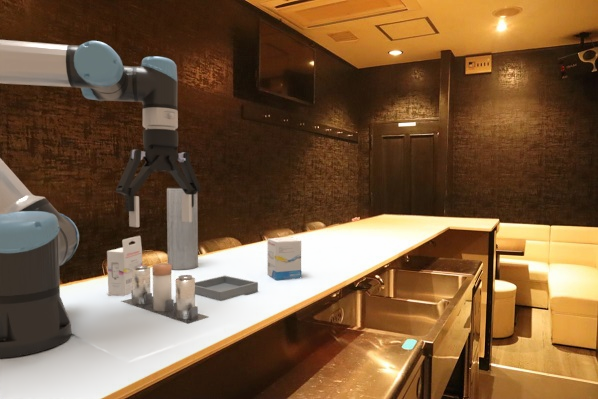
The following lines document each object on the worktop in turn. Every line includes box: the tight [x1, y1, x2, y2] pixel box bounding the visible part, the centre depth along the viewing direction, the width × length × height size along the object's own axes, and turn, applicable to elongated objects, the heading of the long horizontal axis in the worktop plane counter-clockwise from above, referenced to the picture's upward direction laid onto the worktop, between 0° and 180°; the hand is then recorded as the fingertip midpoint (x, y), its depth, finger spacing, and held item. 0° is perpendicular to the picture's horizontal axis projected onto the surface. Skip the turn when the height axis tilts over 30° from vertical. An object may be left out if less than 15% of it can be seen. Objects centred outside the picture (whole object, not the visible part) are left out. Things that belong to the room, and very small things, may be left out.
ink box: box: [267, 236, 302, 281], centre depth 133 cm, size 9×8×12 cm
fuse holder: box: [120, 264, 209, 325], centre depth 98 cm, size 6×26×9 cm, turn 52°
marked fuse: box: [151, 262, 173, 311], centre depth 97 cm, size 4×4×10 cm
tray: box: [195, 275, 259, 302], centre depth 113 cm, size 13×13×2 cm
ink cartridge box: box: [106, 235, 143, 297], centre depth 113 cm, size 9×5×15 cm, turn 168°
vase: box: [166, 187, 199, 271], centre depth 146 cm, size 10×10×27 cm
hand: (162, 224), depth 97 cm, fingers open, 13 cm apart
